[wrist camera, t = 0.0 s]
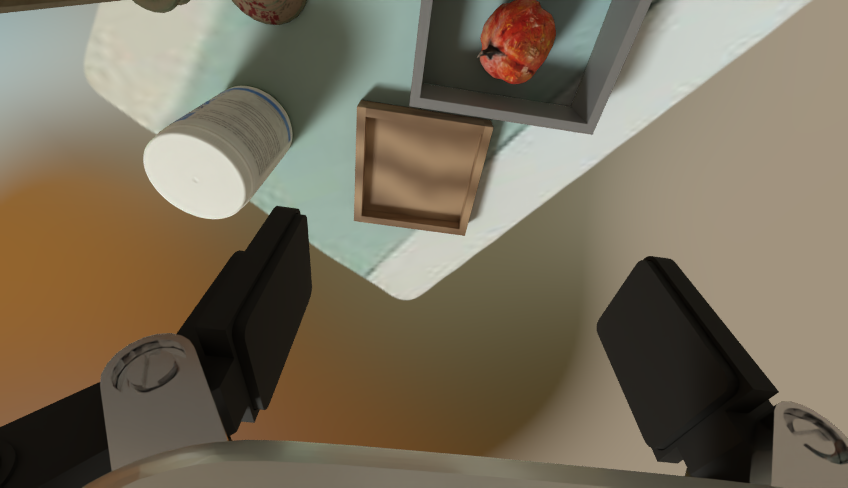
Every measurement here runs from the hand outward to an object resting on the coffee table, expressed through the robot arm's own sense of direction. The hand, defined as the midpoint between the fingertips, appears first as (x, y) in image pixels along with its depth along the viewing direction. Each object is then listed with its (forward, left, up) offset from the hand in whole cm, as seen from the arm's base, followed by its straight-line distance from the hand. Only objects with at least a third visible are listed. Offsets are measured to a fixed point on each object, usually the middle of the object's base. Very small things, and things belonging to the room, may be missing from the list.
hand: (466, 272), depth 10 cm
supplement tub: (+12, -22, -37) cm, 45 cm away
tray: (+15, -1, -37) cm, 40 cm away
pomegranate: (-2, +7, -37) cm, 38 cm away
